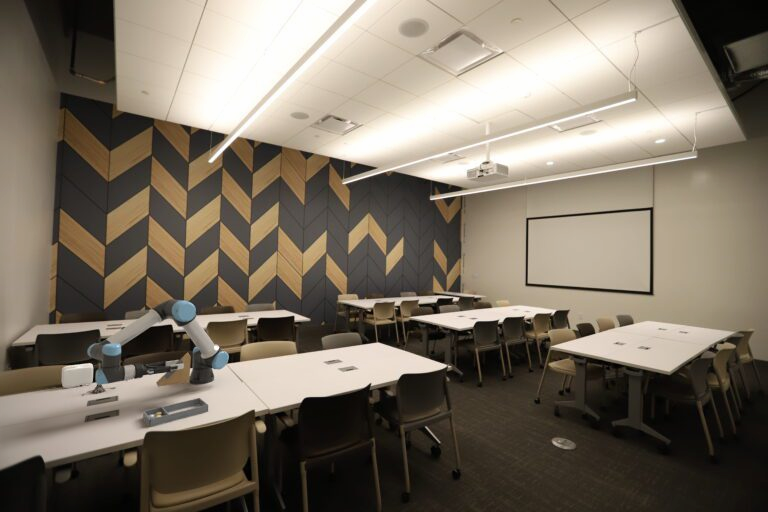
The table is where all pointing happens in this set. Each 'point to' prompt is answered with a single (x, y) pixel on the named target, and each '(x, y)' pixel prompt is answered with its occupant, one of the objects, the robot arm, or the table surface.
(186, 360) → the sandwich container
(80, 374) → the cable organizer
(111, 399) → the table surface
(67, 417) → the table surface
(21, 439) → the table surface
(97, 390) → the eiffel tower figurine
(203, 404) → the parts tub
